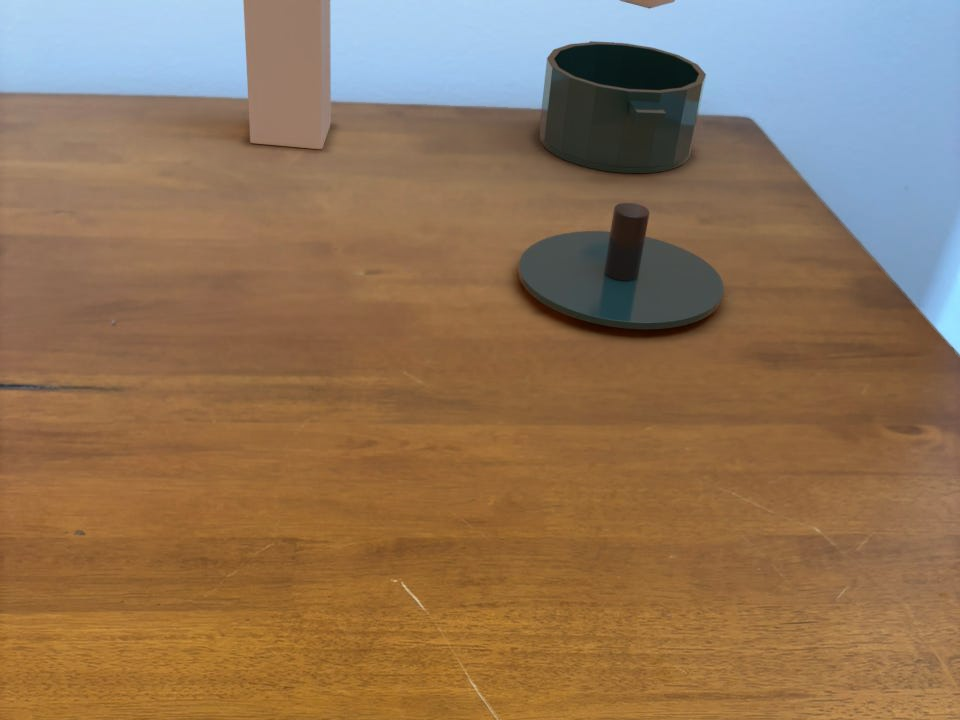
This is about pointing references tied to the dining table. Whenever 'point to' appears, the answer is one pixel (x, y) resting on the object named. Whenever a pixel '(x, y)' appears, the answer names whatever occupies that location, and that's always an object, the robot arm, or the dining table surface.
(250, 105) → the milk
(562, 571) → the dining table surface
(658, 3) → the pepper shaker
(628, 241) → the lid
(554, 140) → the pot
